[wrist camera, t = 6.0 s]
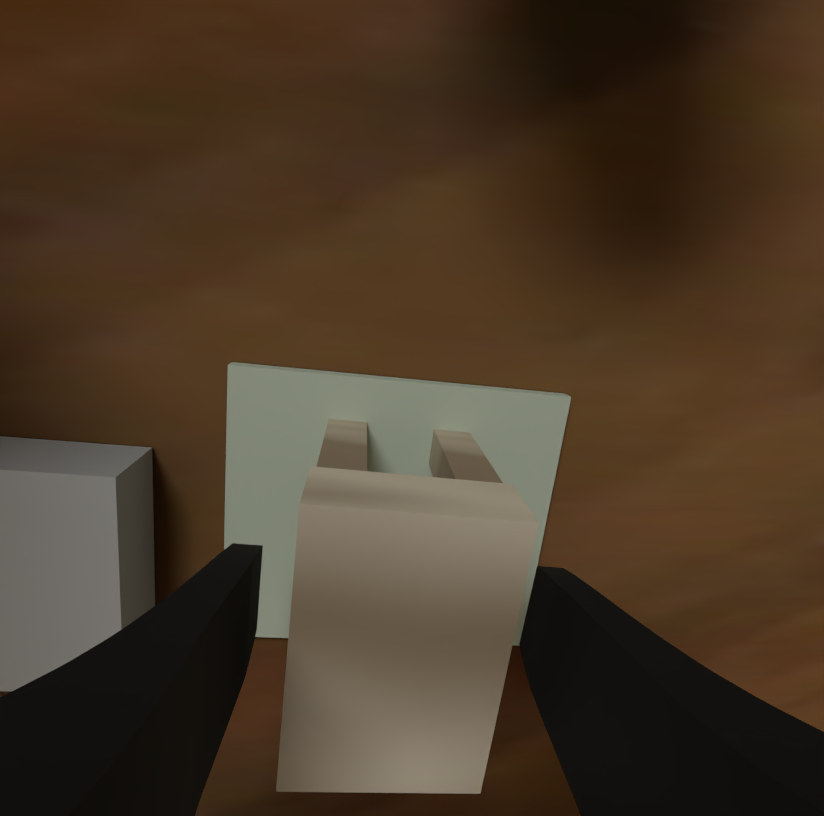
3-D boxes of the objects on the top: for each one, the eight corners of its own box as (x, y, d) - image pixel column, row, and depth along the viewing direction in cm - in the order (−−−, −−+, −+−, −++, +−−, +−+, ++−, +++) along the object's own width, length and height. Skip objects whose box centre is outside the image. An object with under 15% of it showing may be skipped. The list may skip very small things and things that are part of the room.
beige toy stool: (441, 618, 15) (480, 793, 10) (307, 611, 14) (276, 791, 9) (474, 429, 13) (538, 522, 8) (325, 414, 13) (299, 503, 8)
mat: (232, 362, 13) (227, 365, 12) (565, 393, 14) (571, 397, 13) (225, 626, 15) (222, 635, 14) (517, 636, 16) (521, 645, 15)
